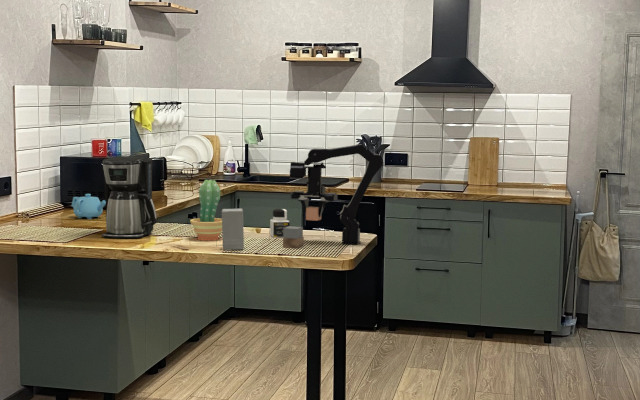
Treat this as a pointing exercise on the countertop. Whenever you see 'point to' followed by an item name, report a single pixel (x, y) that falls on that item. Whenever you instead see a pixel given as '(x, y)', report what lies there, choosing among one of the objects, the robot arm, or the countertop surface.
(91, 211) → the teapot
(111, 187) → the coffee maker
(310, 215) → the terracotta cube
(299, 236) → the charcoal block
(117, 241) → the countertop surface
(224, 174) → the countertop surface
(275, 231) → the medicine bottle
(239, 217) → the skincare box
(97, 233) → the countertop surface
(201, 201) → the potted cactus
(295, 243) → the walnut block
